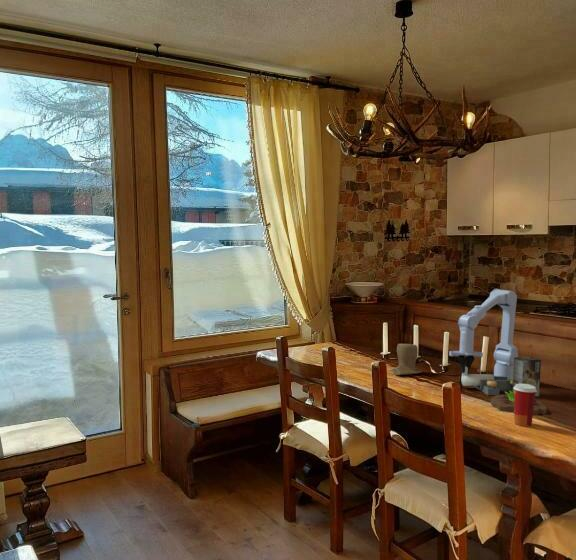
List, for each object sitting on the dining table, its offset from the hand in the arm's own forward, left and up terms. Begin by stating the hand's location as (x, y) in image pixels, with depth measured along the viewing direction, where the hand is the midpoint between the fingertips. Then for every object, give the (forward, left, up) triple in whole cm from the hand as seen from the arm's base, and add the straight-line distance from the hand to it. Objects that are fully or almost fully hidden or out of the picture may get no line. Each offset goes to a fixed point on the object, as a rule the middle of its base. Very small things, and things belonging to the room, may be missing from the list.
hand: (464, 372), depth 250 cm
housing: (+3, +14, -7) cm, 16 cm away
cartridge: (0, +6, -6) cm, 8 cm away
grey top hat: (-26, -20, -8) cm, 34 cm away
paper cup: (+49, +4, -7) cm, 50 cm away
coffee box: (+9, +24, -8) cm, 26 cm away
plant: (+27, +12, -8) cm, 31 cm away
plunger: (+8, +9, -6) cm, 14 cm away
